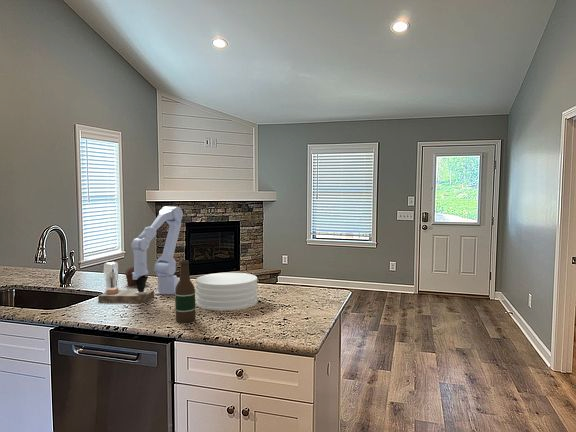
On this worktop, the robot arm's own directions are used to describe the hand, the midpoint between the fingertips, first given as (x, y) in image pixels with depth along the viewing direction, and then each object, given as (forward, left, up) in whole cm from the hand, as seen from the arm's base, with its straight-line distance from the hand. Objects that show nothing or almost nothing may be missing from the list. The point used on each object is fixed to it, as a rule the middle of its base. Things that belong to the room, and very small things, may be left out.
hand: (141, 291), depth 208 cm
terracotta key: (+14, 0, -2) cm, 14 cm away
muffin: (+16, -33, -4) cm, 37 cm away
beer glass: (+21, -14, -4) cm, 26 cm away
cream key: (0, 0, -3) cm, 3 cm away
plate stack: (-42, +4, -4) cm, 42 cm away
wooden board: (+7, 0, -4) cm, 8 cm away
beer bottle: (-31, +33, -4) cm, 45 cm away
